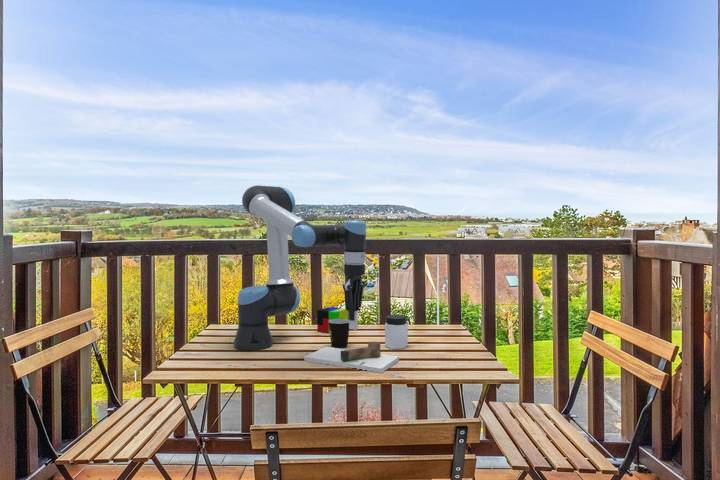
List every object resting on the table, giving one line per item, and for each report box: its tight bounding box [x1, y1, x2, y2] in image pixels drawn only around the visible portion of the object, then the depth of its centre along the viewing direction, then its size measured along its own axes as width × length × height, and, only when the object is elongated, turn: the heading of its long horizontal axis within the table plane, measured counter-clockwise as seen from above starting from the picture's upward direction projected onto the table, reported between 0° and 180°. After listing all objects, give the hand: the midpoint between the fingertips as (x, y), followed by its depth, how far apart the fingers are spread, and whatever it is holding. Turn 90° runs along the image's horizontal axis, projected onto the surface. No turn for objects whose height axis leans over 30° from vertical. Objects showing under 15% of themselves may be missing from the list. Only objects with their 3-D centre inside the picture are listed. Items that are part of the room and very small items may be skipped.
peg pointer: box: [341, 341, 381, 361], centre depth 159 cm, size 15×4×4 cm, turn 121°
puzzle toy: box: [316, 306, 349, 335], centre depth 207 cm, size 10×10×10 cm
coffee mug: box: [329, 319, 350, 349], centre depth 182 cm, size 12×9×10 cm
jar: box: [384, 314, 409, 350], centre depth 180 cm, size 9×8×12 cm
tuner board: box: [303, 346, 400, 374], centre depth 161 cm, size 30×15×2 cm, turn 63°
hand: (353, 328), depth 163 cm, fingers closed
